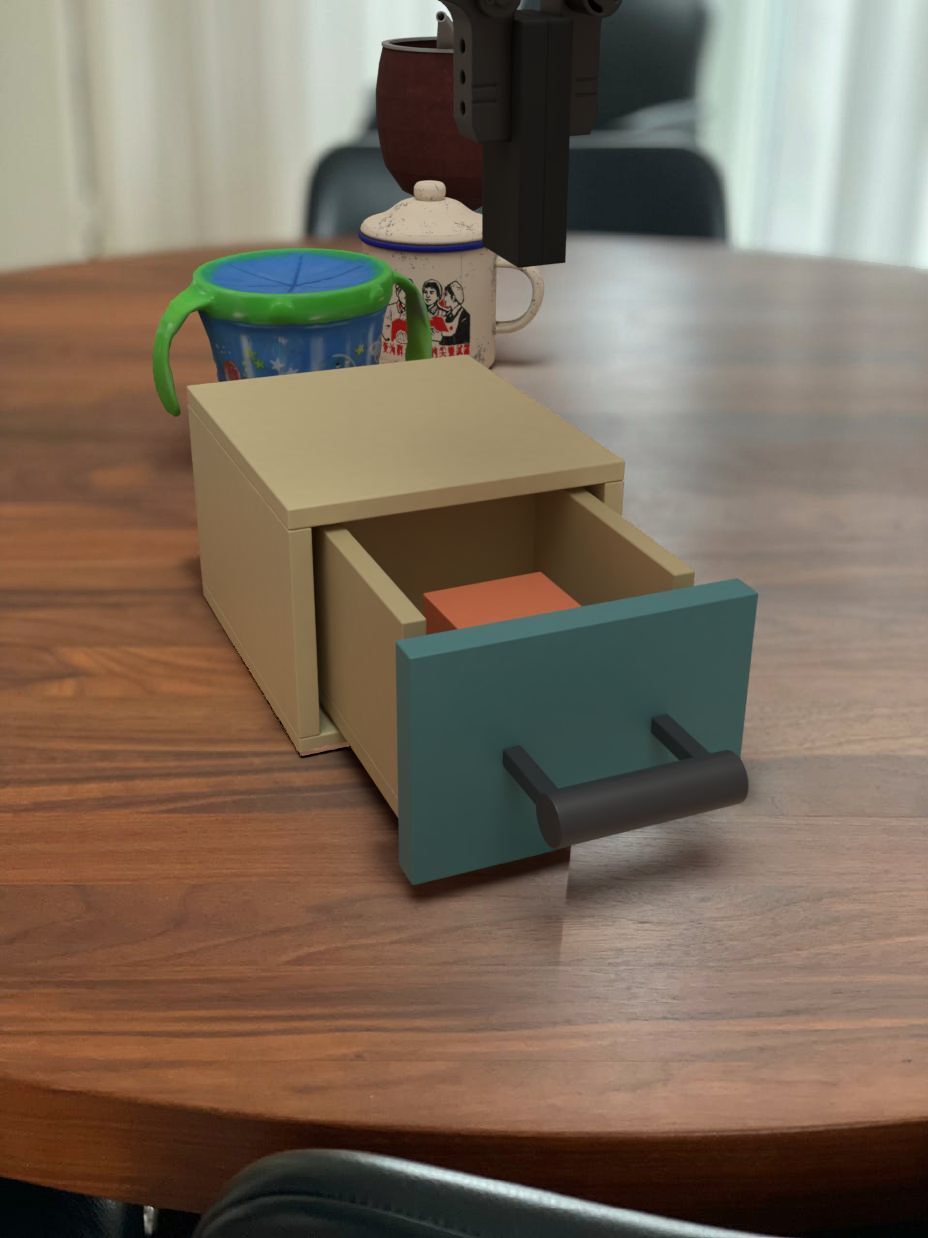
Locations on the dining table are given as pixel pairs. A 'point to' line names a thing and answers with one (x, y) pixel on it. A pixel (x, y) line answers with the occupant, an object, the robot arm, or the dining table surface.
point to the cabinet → (353, 488)
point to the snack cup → (290, 315)
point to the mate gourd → (425, 117)
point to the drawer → (530, 679)
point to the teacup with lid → (443, 275)
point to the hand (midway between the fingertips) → (522, 252)
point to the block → (493, 602)
